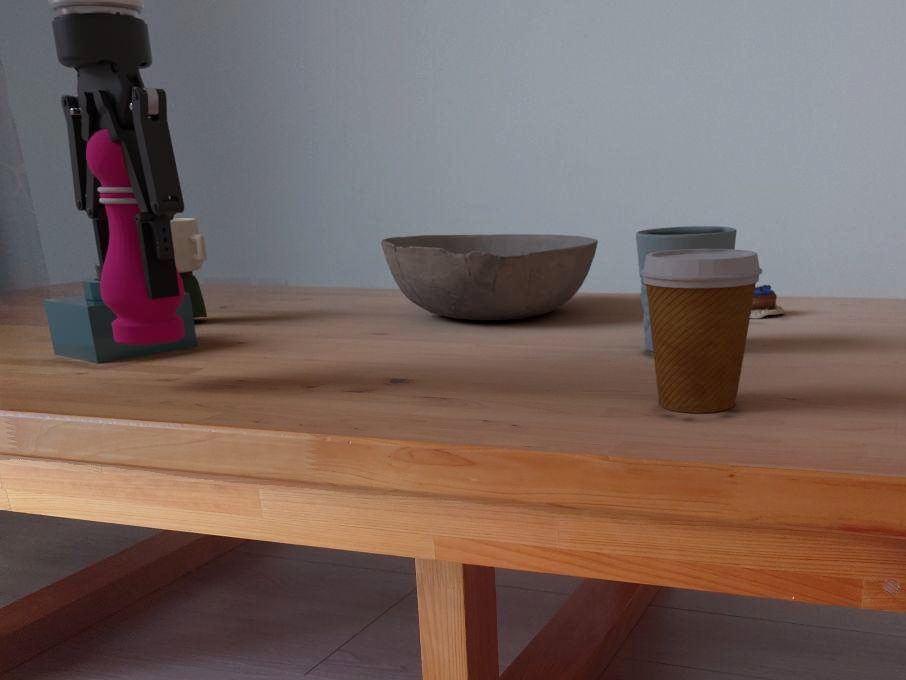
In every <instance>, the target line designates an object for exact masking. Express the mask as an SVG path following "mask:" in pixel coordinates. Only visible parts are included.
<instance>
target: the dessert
mask: <svg viewBox="0 0 906 680" xmlns="http://www.w3.org/2000/svg"><path fill="white" fill-rule="evenodd" d="M777 297H778V295H777V294H776V293H775V291H774V290H773V289H772V286H771V285H770V284H763V285H760V286H755V291H754V297H753V304H752V309H751V315H750V319H755V320H757V319H761V318H764V317H765V316H769V315H772V316H773V315H780V314H781V315H782V314H785V309H784V308H783V307H782V306H781V305H778V304H777V299H778V298H777Z"/></svg>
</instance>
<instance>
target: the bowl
mask: <svg viewBox="0 0 906 680" xmlns="http://www.w3.org/2000/svg"><path fill="white" fill-rule="evenodd" d="M598 243H599V241H598V239H595V238H591V237H587V236H582V235H566V234H533V233H532V234H530V233H529V234H528V233H525V234H524V233H523V234H522V233H521V234H519V233H518V234H517V233H509V234H508V233H507V234H505V233H504V234H503V233H502V234H501V233H499V234H423V235H422V234H420V235H408V236H393V237H388V238H384V239H382V240H381V241H380V245H381V248H382V252H383V254H384V258H385V261H386V263H387V266H388V269H389V271H390V273H391V276H392V277H393V278H392V279H393V280H394V282H395V284H396V286H397V287H398V288H399V290H400V292H401V293H402V294H403V295H404V296H405V297H406V298H407V299H408V300H409V301H410V302H411V303H413V304H414V305H416V306H418V307H419V308H421V309H423V310H424V311H426V312H429V313H431V314H434V315H438V316H443V317H446V318H447V317H448V318H453V319H461V320H472V321H507V320H509V321H510V320H519V319H526V318H532V317H537V316H539V315H544V314H548V313H550V312H553V311H555V310H558V309H559V308H561V307H563V306H564V305H565V304H566V303H567V302H569V301H570V300H572V298H573V297H574V296H575V295H576V293H578V291H579V290H580V288H581V287H582V286H583V284H584V282H585V280H586V278H587V276H588V275H589V272H590V269H591V266H592V263H593V261H594V259H595V255H596V251H597V247H598Z"/></svg>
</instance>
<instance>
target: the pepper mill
mask: <svg viewBox="0 0 906 680" xmlns="http://www.w3.org/2000/svg"><path fill="white" fill-rule="evenodd" d="M86 159H87V163H88V167H89V168H90V170H91V172H92V173H93V174H94V175H95V176H96V177H97V179H98V180H99V181H100V182H101V184H102V187H99V188H98V189H97V190H98V192H100V197H101V198H100V199H99V201H100V203H103V204H105V208H106V212H107V216H108V221H109V232H110V236H109V246H108V251H107V255H106V259H105V262H104V266H103V270H102V274H101V283H100V286H101V297H102V300H103V301H104V303H105V304H106V305H107V306H108V307H109V308H110V309H111V310H112V311H113V312H114V313H115V314H116V315H117V317H118V319H116V320H114V321H113V322H112V329H113V335H114V340H115V341H116V342H117V343H122V344H156V343H164V342H171V341H176V340H179V339H182V338H183V337H184V336H185V332H184V325H183V319H182V318H181V317H179V316H177V315H175V312H176V310H177V308H178V307H179V305H180V304H181V303H182V301H183V299H184V295H185V291H184V287H183V282H182V279H181V276H180V274H179V271H178V269H177V267H176V271H177V278H178V285H179V293H180V296H175V297H167V298H158V299H148V295H147V288H146V281H145V275H144V268H143V261H142V255H141V248H140V241H139V235H138V228H137V222H136V220H135V219H134V217H135V216H136V215H137V214H139V212H140V210H139V207H138V204H137V201H136V198H135V195H134V192H133V189H132V186H131V183H130V180H129V177H128V174H127V171H126V168H125V165H124V158H123V154H122V150H121V147H120V145H119V144H116V143H113V142H112V141H111V140H110V137H109V134H108V131H107V129H103V130H100V131H98V132H96V133H95V134H94V135H93V136H92V137H91V138H90V140H89V142H88V144H87V149H86ZM150 205H151V204H150Z"/></svg>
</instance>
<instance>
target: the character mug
mask: <svg viewBox="0 0 906 680" xmlns="http://www.w3.org/2000/svg"><path fill="white" fill-rule="evenodd" d="M170 224H171V232H172V239H173V241H172V242H173V246H174V257H175V264H176V267H177V269H178V271H179V274H180V276H181V279H182V282H183V287H184V291H185V293H190V298H191V305H192V312H193V318H194V319H197V318H207V317H208V313H207V309H206V304H205V299H204V296H203V293H202V291H201V290H202V289H201V287H200V282H199V280H198V278H197V277H196V275H194V273H193V272H194V271H198V270H200V269H201V268H202V266H203V265H204V262H205V261H206V260H207V259H208V258H207V256H208V254H207V248H206V240H205V237H204V235H201V234H200V232H199V225H198V224H199V223H198V220H197V218H193V217H192V218H191V217H174V218H173V220H171V221H170Z"/></svg>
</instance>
